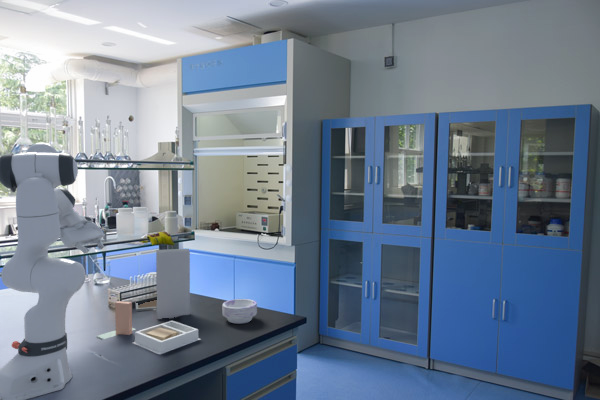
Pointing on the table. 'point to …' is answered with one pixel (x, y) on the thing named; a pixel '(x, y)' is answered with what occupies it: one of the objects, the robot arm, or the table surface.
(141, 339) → the white divided tray
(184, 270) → the brochure
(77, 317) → the table surface
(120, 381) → the table surface
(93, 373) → the table surface
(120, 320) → the terracotta board
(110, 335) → the sage mat
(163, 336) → the offcut upper
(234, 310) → the paper bowls
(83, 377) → the table surface
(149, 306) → the clipboard
